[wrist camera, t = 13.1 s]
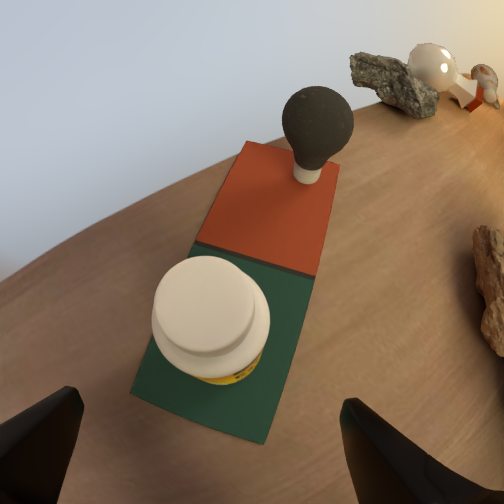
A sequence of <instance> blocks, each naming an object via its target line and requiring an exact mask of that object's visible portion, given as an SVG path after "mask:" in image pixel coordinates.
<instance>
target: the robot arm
mask: <svg viewBox="0 0 504 504" xmlns="http://www.w3.org/2000/svg"><path fill="white" fill-rule="evenodd" d="M83 412H84V403H83V401H82V399H81V396H80V394H79V392H78V390H77V389H76V388H75V387H70V386H65V387H63V388H61V389H60V390H58V391H56V392H55V393H53V394H51V395H50V396H48V397H46V398H45V399H43V400H41V401H40V402H38V403H36V404H35V405H33V406H31V407H30V408H28V409H26V410H25V411H23V412H21V413H19V414H18V415H16V416H14V417H13V418H11V419H9V420H8V421H6V422H4V423H2V424H1V425H0V504H57V501H58V498H59V494H60V491H61V487H62V484H63V481H64V478H65V474H66V471H67V468H68V465H69V462H70V459H71V456H72V453H73V450H74V447H75V444H76V441H77V437H78V433H79V428H80V424H81V420H82V416H83ZM340 426H341V432H342V438H343V444H344V451H345V456H346V461H347V465H348V468H349V471H350V475H351V478H352V482H353V485H354V488H355V492H356V495H357V499H358V502H359V504H504V491H493V490H489V489H486V488H484V487H481V486H479V485H478V484H476V483H474V482H472V481H470V480H468V479H466V478H464V477H463V476H461V475H459V474H457V473H455V472H454V471H452V470H450V469H449V468H447V467H446V466H444V465H443V464H441V463H440V462H438V461H437V460H436V459H434V458H433V457H432V456H430V455H429V454H428V455H427V453H426V452H425V451H424V450H422V449H421V448H420V447H418V446H417V445H416V444H415V443H413V442H412V441H411V440H409V439H408V438H407V437H406V436H404V435H403V434H402V433H400V432H399V431H398V430H397V429H395V428H394V427H393V426H392V425H390V424H389V423H388V422H387V421H385V420H384V419H383V418H382V417H380V416H379V415H378V414H377V413H375V412H374V411H373V410H372V409H371V408H369V407H368V406H367V405H366V404H364V403H363V402H362V401H361V400H360V399H358V398H348V399H345V400H344V402H343V406H342V409H341V413H340Z"/></svg>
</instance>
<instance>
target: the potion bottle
mask: <svg viewBox="0 0 504 504" xmlns="http://www.w3.org/2000/svg"><path fill="white" fill-rule="evenodd" d="M407 65H408V66H409V67H410V70H411V75H412V76H413V77H414V78H417V79H420V80H422V81H424V82H426V83H427V84H429V85H431V86H432V87H433V88H434V89H436V90H437V91H438V93H440V92H444V91H449V92H451V93H452V94H453V95H455V96H456V97H457V99H458V101H459V104H460V106H461V108H463V107H465V106H467V107H468V110H469V112H470V113H471V112H472V111H473V110H474V109H476V108H477V107H478V106H480V105H481V104H482V101H483V94H484V88H480V87H477V81H478V80H467V79H466V78H465V77H464V76H462V75H461V74H460V73H458V71H457V66H456V61H455V58H454V57H453V56H452V55H451V54H450V53H449V52H448V51H447V50H446V49H445V48H444V47H442V46H439V45H436V44H432V43H424V44H418V45H417V46H416V47H415V48H414V49H413V50H412V51H411V52H410V56H409V60H408V64H407Z"/></svg>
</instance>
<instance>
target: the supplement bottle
mask: <svg viewBox="0 0 504 504" xmlns="http://www.w3.org/2000/svg"><path fill="white" fill-rule="evenodd" d="M269 327H270V313H269V307H268V304H267V301H266V298H265V296H264V294H263V292H262V291H261V289H260V287H259V286H258V285H257V284H256V282H255V281H254V280H253V279H252V278H251V277H249V276H248V275H247V274H245V273H244V272H242V271H241V270H240V269H239V268H238V267H236V266H235V265H234V264H232V263H231V262H229V261H227V260H224V259H222V258H218V257H213V256H197V257H192V258H189V259H186V260H184V261H182V262H180V263H178V264H177V265H175V266H174V267H172V268H171V269H170V270H169V271H168V272H167V273H166V274H165V275H164V277H163V278H162V280H161V281H160V283H159V285H158V287H157V290H156V293H155V298H154V306H153V311H152V331H153V335H154V338H155V341H156V343H157V346H158V347H159V349H160V351H161V352H162V354H163V355H164V356H165V358H166V359H167V360H168V361H169V362H170V363H172V364H173V365H174V366H175V367H177V368H178V369H180V370H181V371H183V372H185V373H187V374H189V375H191V376H194V377H196V378H198V379H200V380H203V381H205V382H207V383H211V384H216V385H227V384H232V383H235V382H238V381H240V380H242V379H244V378H245V377H247V376H248V375H249V374H250V373H251V372H252V371H253V370H254V368H255V367H256V365H257V363H258V361H259V359H260V356H261V354H262V351H263V349H264V346H265V343H266V341H267V337H268V333H269Z"/></svg>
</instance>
